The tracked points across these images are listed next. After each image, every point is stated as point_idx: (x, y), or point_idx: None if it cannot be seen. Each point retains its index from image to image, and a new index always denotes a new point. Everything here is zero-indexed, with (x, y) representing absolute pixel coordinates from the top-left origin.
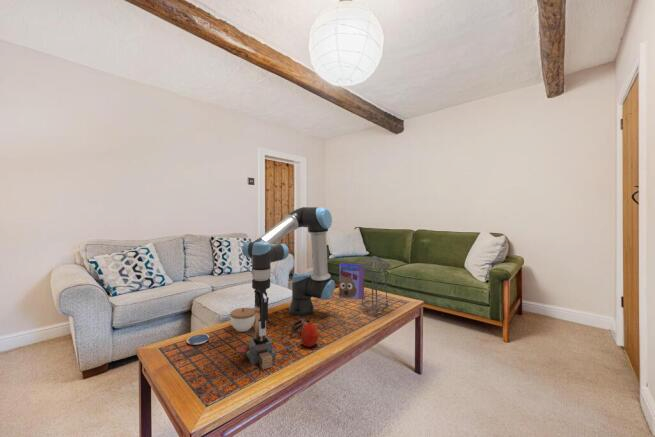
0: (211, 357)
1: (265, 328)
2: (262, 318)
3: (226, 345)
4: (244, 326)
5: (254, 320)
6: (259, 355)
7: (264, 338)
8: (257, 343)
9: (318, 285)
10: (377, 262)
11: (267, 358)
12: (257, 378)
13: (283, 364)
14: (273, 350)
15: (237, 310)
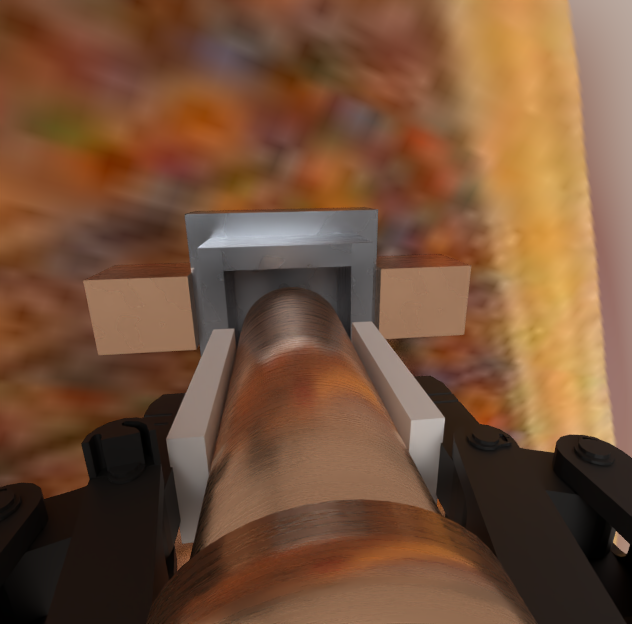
0: (180, 535)
1: (394, 356)
2: (627, 570)
3: (48, 464)
4: None
5: None
6: (385, 336)
7: (337, 315)
8: (234, 328)
9: None
10: None
11: (466, 300)
12: (493, 351)
13: (447, 177)
14: (342, 217)
15: None
